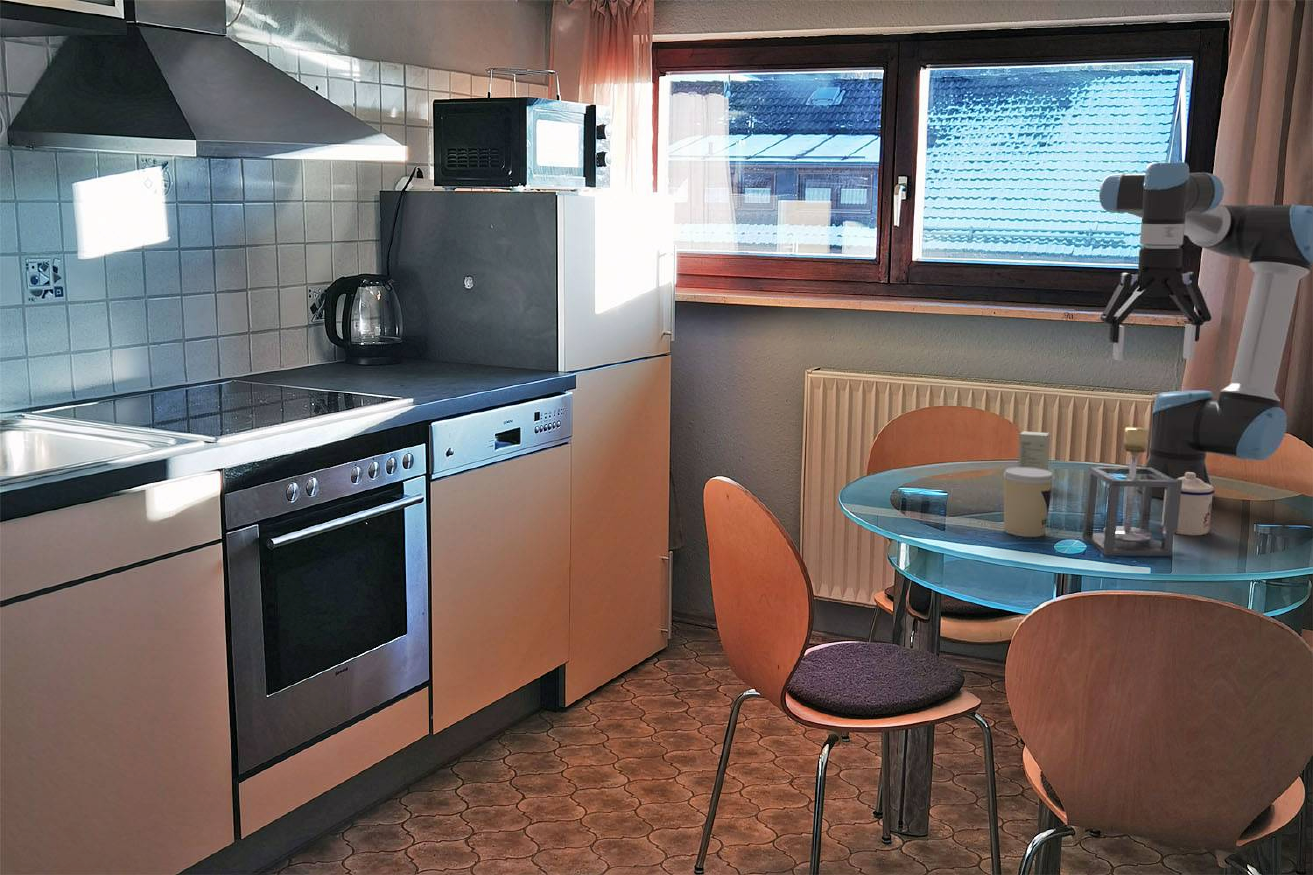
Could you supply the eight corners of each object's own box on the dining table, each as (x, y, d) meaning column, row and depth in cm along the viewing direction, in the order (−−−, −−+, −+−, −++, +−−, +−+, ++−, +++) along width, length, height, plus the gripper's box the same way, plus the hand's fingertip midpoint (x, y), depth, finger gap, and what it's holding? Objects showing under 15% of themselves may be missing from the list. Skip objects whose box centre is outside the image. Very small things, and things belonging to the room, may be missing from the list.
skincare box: (1047, 485, 274) (1051, 432, 272) (1044, 488, 270) (1048, 435, 268) (1018, 481, 277) (1022, 430, 274) (1015, 485, 273) (1019, 433, 271)
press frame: (1160, 538, 230) (1167, 467, 228) (1188, 556, 219) (1195, 482, 216) (1082, 537, 230) (1088, 466, 228) (1105, 555, 219) (1112, 480, 216)
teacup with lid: (1214, 537, 232) (1221, 479, 229) (1164, 534, 234) (1170, 476, 231) (1200, 522, 243) (1206, 466, 241) (1153, 519, 245) (1158, 463, 243)
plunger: (1140, 530, 228) (1150, 425, 224) (1158, 542, 220) (1169, 433, 216) (1096, 529, 228) (1105, 424, 224) (1112, 541, 220) (1122, 433, 216)
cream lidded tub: (1052, 539, 229) (1057, 478, 226) (1001, 536, 231) (1005, 475, 228) (1046, 527, 238) (1051, 468, 235) (997, 523, 240) (1002, 465, 237)
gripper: (1103, 248, 220) (1095, 363, 224) (1237, 247, 221) (1226, 361, 225) (1087, 246, 227) (1080, 357, 232) (1217, 244, 228) (1207, 355, 232)
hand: (1152, 359), depth 228 cm, fingers open, 13 cm apart
